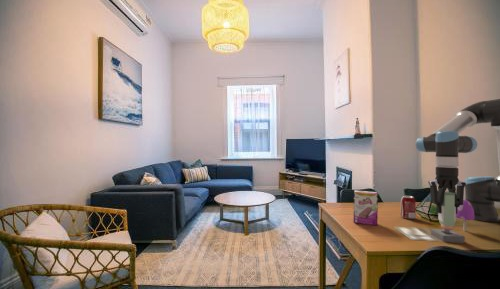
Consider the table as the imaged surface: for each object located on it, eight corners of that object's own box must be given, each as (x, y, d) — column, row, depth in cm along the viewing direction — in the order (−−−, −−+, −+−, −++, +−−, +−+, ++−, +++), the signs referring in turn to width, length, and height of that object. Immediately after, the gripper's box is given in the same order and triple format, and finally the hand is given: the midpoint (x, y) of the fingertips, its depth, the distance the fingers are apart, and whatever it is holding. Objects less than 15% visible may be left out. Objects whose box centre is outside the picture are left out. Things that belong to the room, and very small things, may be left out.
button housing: (450, 235, 103) (450, 229, 103) (464, 242, 95) (464, 236, 95) (430, 234, 104) (430, 228, 104) (443, 241, 96) (443, 235, 96)
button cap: (448, 232, 101) (448, 223, 101) (455, 236, 97) (455, 226, 97) (438, 232, 102) (438, 222, 102) (445, 235, 98) (445, 225, 98)
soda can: (418, 220, 125) (417, 198, 125) (404, 219, 127) (404, 197, 127) (411, 216, 132) (411, 195, 132) (398, 215, 133) (398, 194, 133)
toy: (476, 235, 104) (476, 202, 104) (456, 232, 107) (456, 200, 107) (472, 230, 109) (472, 199, 109) (453, 228, 113) (453, 197, 113)
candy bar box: (353, 223, 120) (353, 191, 120) (353, 220, 125) (353, 190, 125) (378, 226, 115) (377, 193, 116) (377, 223, 120) (377, 191, 120)
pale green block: (448, 223, 101) (448, 191, 101) (455, 226, 97) (454, 193, 97) (439, 222, 102) (438, 191, 102) (445, 225, 98) (445, 192, 98)
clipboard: (437, 229, 111) (437, 228, 111) (463, 243, 95) (463, 242, 95) (392, 227, 114) (392, 226, 114) (410, 240, 98) (410, 239, 98)
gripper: (461, 166, 102) (461, 219, 102) (420, 165, 104) (420, 217, 104) (475, 167, 95) (475, 224, 95) (431, 167, 97) (431, 222, 97)
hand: (446, 220), depth 99 cm, fingers closed on pale green block, 4 cm apart
